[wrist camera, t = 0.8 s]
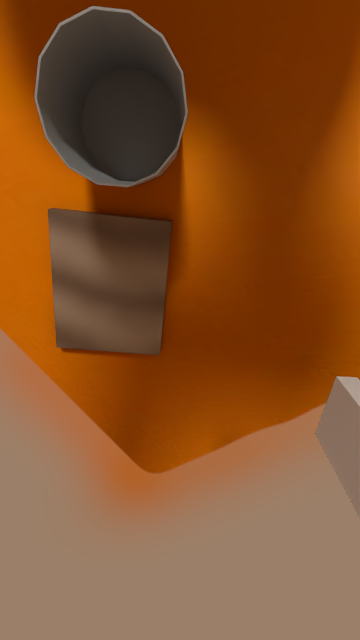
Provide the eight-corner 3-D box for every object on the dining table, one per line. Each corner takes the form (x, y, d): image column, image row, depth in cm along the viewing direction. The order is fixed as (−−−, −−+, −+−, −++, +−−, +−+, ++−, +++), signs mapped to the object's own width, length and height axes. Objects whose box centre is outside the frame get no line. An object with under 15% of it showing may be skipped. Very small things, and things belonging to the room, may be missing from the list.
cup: (109, 197, 29) (80, 207, 20) (63, 96, 26) (3, 51, 16) (196, 160, 28) (208, 152, 19) (159, 49, 24) (152, -26, 15)
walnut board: (52, 207, 29) (47, 209, 28) (171, 220, 30) (171, 222, 29) (60, 341, 35) (56, 347, 34) (160, 349, 35) (159, 355, 34)
